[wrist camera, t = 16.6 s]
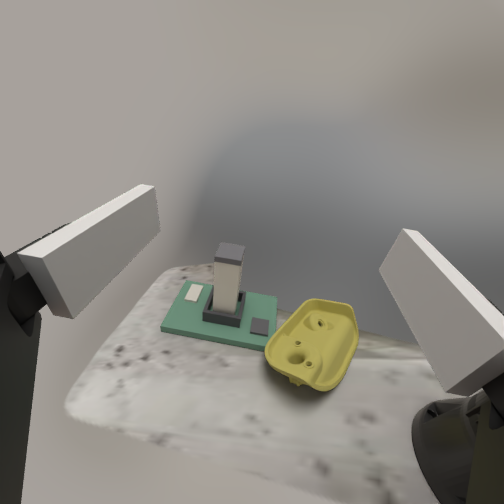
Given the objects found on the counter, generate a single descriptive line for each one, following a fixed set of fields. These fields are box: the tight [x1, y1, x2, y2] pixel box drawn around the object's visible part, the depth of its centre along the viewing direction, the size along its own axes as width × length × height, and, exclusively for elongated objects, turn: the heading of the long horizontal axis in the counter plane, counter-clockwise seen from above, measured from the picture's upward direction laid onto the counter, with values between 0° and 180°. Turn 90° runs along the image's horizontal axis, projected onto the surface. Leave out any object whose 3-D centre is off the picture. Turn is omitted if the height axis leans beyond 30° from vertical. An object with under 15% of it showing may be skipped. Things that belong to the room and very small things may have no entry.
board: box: [160, 280, 277, 351], centre depth 43 cm, size 20×12×4 cm, turn 83°
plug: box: [213, 242, 245, 315], centre depth 39 cm, size 4×4×14 cm
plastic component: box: [265, 299, 359, 391], centre depth 38 cm, size 20×7×10 cm
